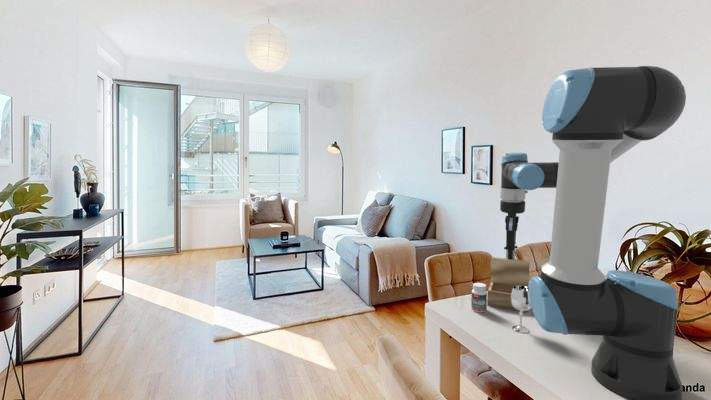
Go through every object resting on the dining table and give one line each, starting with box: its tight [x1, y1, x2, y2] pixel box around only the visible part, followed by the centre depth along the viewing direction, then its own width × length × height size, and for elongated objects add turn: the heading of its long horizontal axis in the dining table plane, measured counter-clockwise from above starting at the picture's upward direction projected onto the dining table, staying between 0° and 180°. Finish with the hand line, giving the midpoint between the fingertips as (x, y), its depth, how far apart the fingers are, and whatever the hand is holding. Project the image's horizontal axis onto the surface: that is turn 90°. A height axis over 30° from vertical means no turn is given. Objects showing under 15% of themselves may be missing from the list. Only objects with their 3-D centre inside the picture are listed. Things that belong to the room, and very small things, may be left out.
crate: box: [487, 281, 528, 313], centre depth 118 cm, size 10×12×5 cm
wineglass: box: [511, 286, 532, 334], centre depth 99 cm, size 6×6×12 cm
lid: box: [490, 256, 530, 287], centre depth 121 cm, size 10×12×1 cm
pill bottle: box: [470, 282, 488, 314], centre depth 113 cm, size 5×5×8 cm
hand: (509, 266), depth 121 cm, fingers closed
